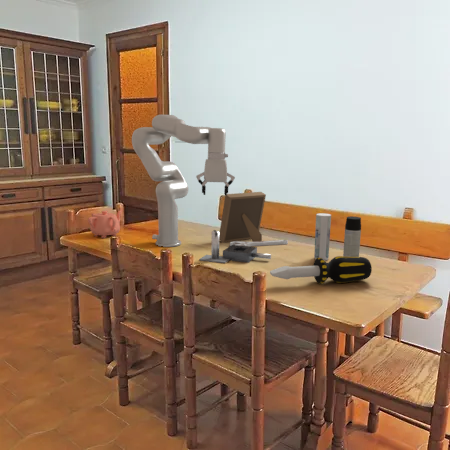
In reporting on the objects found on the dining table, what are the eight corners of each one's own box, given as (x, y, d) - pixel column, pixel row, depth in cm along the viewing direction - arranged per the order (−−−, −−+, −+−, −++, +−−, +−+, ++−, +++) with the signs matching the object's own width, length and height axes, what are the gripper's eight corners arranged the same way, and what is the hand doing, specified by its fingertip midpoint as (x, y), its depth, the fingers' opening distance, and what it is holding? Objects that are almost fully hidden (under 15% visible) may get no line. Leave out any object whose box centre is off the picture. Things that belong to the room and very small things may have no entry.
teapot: (92, 232, 257) (91, 208, 254) (123, 232, 259) (123, 208, 256) (87, 239, 241) (86, 213, 239) (121, 238, 243) (120, 213, 241)
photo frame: (218, 241, 240) (219, 192, 235) (253, 236, 252) (254, 190, 246) (234, 247, 228) (235, 196, 223) (269, 242, 239) (272, 194, 234)
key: (210, 256, 209) (210, 230, 206) (218, 256, 209) (218, 230, 207) (212, 260, 203) (212, 233, 200) (220, 260, 203) (220, 233, 201)
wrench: (290, 241, 233) (233, 245, 224) (290, 245, 233) (233, 249, 224) (284, 238, 240) (228, 241, 232) (284, 241, 241) (228, 245, 232)
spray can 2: (313, 256, 213) (315, 213, 209) (327, 256, 213) (329, 213, 209) (314, 260, 207) (317, 215, 203) (329, 260, 206) (332, 216, 202)
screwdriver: (275, 291, 166) (276, 264, 164) (266, 282, 176) (267, 256, 174) (374, 284, 175) (376, 258, 173) (360, 276, 185) (362, 251, 183)
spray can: (359, 261, 205) (362, 216, 201) (358, 265, 199) (361, 219, 195) (343, 260, 207) (346, 215, 203) (342, 264, 201) (344, 218, 197)
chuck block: (222, 259, 206) (222, 250, 205) (231, 253, 217) (232, 244, 216) (266, 264, 199) (266, 255, 198) (273, 257, 210) (274, 249, 209)
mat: (199, 260, 204) (199, 259, 204) (206, 255, 212) (206, 254, 212) (225, 263, 200) (225, 262, 200) (231, 258, 208) (231, 257, 208)
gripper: (234, 156, 212) (232, 193, 216) (196, 155, 210) (195, 193, 214) (236, 157, 205) (235, 196, 209) (197, 156, 203) (196, 195, 206)
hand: (214, 194), depth 211 cm, fingers open, 9 cm apart
